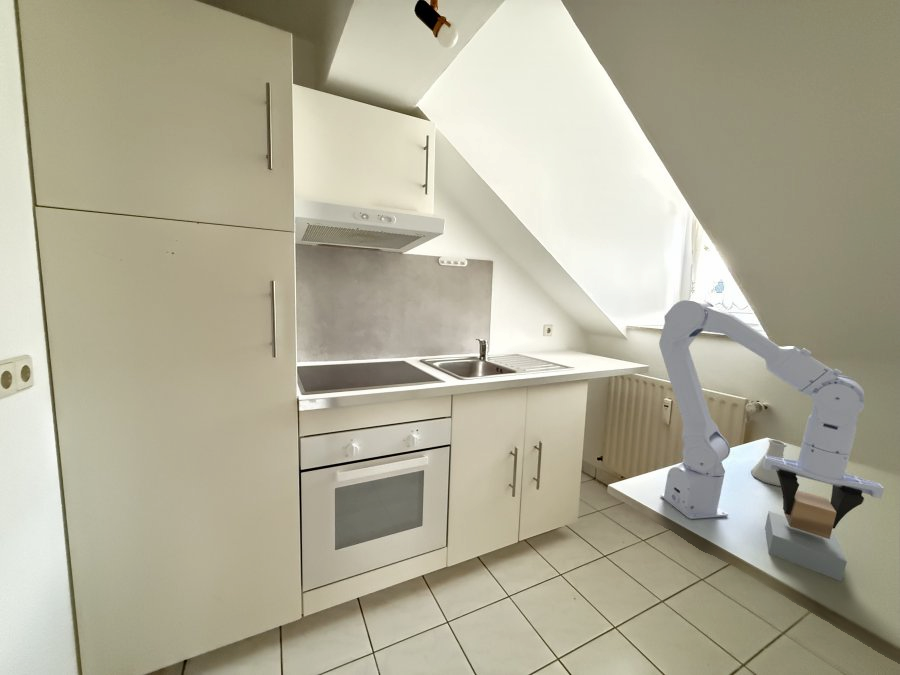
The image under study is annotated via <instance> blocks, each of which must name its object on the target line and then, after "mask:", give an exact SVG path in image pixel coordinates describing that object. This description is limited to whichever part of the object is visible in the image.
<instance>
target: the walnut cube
mask: <svg viewBox="0 0 900 675" xmlns="http://www.w3.org/2000/svg"><path fill="white" fill-rule="evenodd" d="M830 502H831V501H829V499H828V498H826V497H824V496H820V495H816V494H812V493H809V492H806V491H805V492H804V491H801V490H798V489H797V491H796V494H795V497H794V501H793V507H792V511H791V514H790V515H788V514H785V512H784V511H783V515H784V516H785V517H786V519H787V521H788V523H789V526H790V527H793V528H796V529H799V530H802V531H805V532H808V533H811V534H814V535H818V536H821V537H824V538H827V539H830V536H831V532H833V525H834V521H835V517H836V513H837V512H836V511H835V509H834V508H833V506H832V505H831V503H830Z"/></svg>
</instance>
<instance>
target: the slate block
mask: <svg viewBox="0 0 900 675" xmlns="http://www.w3.org/2000/svg"><path fill="white" fill-rule="evenodd" d="M764 530H765V531H766V532H765V538H766V545H767V546H766V547H767V554H770V555H772V556H774V557H777V558H780V559H783V560H785V561H787V562H790V563H793V564H795V565H798V566H800V567H802V568H806V569H809V570H811V571H813V572H816V573H818V574H822V575H824V576H826V577H829V578H831V579H834V580H837V581H839V582H842V581H843V577H844V574H845V570H846V567H847V563H848V561H847V558H846V556H845V554H844V552H843V549H842V547H841V544H840V542H839V540H838V537H837V535H836V533H835V532H833V531H832V532H831V536H830V539H827V538H824V537H821V536H818V535H814V534H811V533H808V532H805V531H802V530H799V529H796V528H793V527H790V526H789V523H788V521H787V519H786V516H785V515H781V514H779V513H776V512H774V511H770V510H768V513H767V517H766V521H765V526H764Z"/></svg>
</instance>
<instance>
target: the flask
mask: <svg viewBox="0 0 900 675" xmlns="http://www.w3.org/2000/svg"><path fill="white" fill-rule="evenodd" d="M768 442H769V445H768V448H767V450H766V452H765V453H764V455H767V456H772V457H777V458H784V451H785V448H787V444H786V443H785V442H783V441H782V440H778V439H768ZM764 455H763V456H762V457H761V459H760V460H759V461H758V462H757V463H756V464H755V466H754V467H752V469H751V470H750V472H751V474H752V476H753V477H755V478H756V479H758V480H759V481H761V482H763V483H766V484H770V485H773V486H778V487H781V484H780V481H779V478H778V475H777V472H776V470H773V469H772V470H768V469H765V468H764V467H763V465H762V463H763V459H764Z"/></svg>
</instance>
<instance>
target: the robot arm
mask: <svg viewBox="0 0 900 675" xmlns="http://www.w3.org/2000/svg"><path fill="white" fill-rule="evenodd" d="M663 319H664V324H663V328H662V331H661V335H660V339H659V342H658V345H659V349H660V352H661V355H662V358H663V362H664V365H665V369H666V373H667V375H668V378H669V382H670V385H671V389H672V391H673V394H674V398H675V400H676V405H677V407H678V411H679V413H680V417H681V420H682V423H683V424H682V425H683V426H682V433H681V440H682V442H683V447H682V458H683V459H682V462H681V463H680V464H679V465H676V466H674V467H672V468H670V469H669V470H668V473H667V477H666V482H665V486H664V487H665V488H664V493H661V494H660V497H661V498H662V499H664V500H665V501H666V502H667V503H669V504H670V505H671V506H673V507H674V508H675V509H677V511H679V512H680V513H682V515H683V516H685V517H686V518H688V519H689V520H693V519H694V520H695V519H706V518H708V519H709V518H720V517H721V518H722V517H728V516H729V513H728V512H726V511H725V510H724V509H722V508H720V507H719V503H720V499H721V494H722V488H723V484H724V478H725V474H726V470H725V468H724V466H723V463H722V462H723V461H724V460H726V459H727V458H729V455H730V453H731V445H730V443H729V442H728V440H727V439H726V437H724V436H723V434H722V433H721V432H720V428H719V426H718V425H717V424H716V422H715V421H714V420H713V419H712V417H711V413H710V411H709V410H710V409H709V406H708V403H707V401H706V398H705V395H704V392H703V389H702V385H701V382H700V378H699V376H698V373H697V370H696V367H695V363H694V361H693V357H692V354H691V350H690V349H689V348H690V345H691V344H692V343H693V342H694V341H695V339H696V338H697V337H698V336H699V335H700V334H701V333H703V332H706V333H714V334H723V335H724V336H727V337H728V338H729V339H731V340H733V341H734V342H736V343H737V344H739V345H741V347H744V348H745V349H748V351H750V352H752V353H754V354H756V355H757V356H759V357H760V358H762V359H764V361H765V366H766V370H767V371H768V372H770V373H771V374H773V375H774V376H776V377H777V378H779V379H780V380H782V381H783V382H784V383H787V385H789V386H790V387H792V388H794V390H796V391H798V392H799V393H801V394H803V395H806V396H810V398H811V402H812V403H813V405H812V409H811V413H810V415H808V418H807V421H806V425H805V428H804V433H803V439H802V441H801V446H800V450H799V454H798V458H797V460H796V459H791V458H790V459H789V458H784V457H783V458H777V457H772V456H767V455H765V454H764V455H763V456H764V459H763V463H762V465H763V467H764V468H765V469H768V470H772V469H773V470H776V472H777V475H778V478H779V481H780V484H781V486H780V488H781V493H782V501H783V503H782V505H783V506H782V509H783V513H784V512H785V514H788V515H790V514H791V511H792V507H793V501H794V497H795V494H796V491H797V490H798V489H799V486H800V483H799V482H798V477H801V478H805V479H808V480H813V481H817V482H820V483H825V484H827V485H830V486H831V485H832V490H831V496H830V497H831V498H830V501H829V502H830V503H831V505H832V506H833V508H834V509H835V511H836V512H837V513H836V517H835V521H834V525H833V528H832V530H833V529H834V530H836V527H837V525H838V524H839V522H840V521H842V519H844V517H845V516H847V514H848V513H850V512H851V510H853V509H855V508H856V507H858V506H860V505H862V504H863V503H864V500H865V497H864V496H863V494H866V495H870V496H871V497H872V498H877V499H880V500H882V498H883V494H884V492H885V488H884V486H883V485H881V483H879V482H876V481H873V480H869V479H866V478H862V477H859V476H855V475H852V474H850V473H846V471H847V466H848V464H849V459H850V457H851V453H852V449H853V445H854V441H855V437H856V433H857V428H858V427H857V425H856V424H857V422H858V421H859V418H860V416H859V413H861V412H862V410H864V408H865V407H866V403H865V390H864V389H863V388H862V386H861V385H860V384H859V383H858V382H856V381H855V380H854V379H853V378H852V377H850V376H846V375H842V374H843V371H841V370H839V369H838V368H835V369H832V368H830V367H829V366H827V365H826V364H824V363H823V362H820V361H819V360H817V359H816V358H814V357H813V356H811V355H812V351H810V350H809V349H806V348H805V347H804V348H802V349H800V348H798V347H796V346H792V345H791V346H780V345H778V344H777V343H775V342H774V341H773V340H771V339H769V338H768V337H766V336H765V335H764V334H762V333H760V332H759V331H758V330H756V329H755V328H753V327H752V326H750V325H748V324H747V323H745V322H744V321H743V320H741V319H740V318H738V317H737V316H735V315H734V314H732V313H730V312H728V311H726V310H725V309H723V308H722V307H721V308H720V307H718V306H714V305H713V304H712V303H710V302H709V301H706V300H702V299H701V300H692V299H683V300H680V301H677V302H676V303H675V304H673V306H672V307H671V308H670V309H669V310H668V311H667V313H666V314H664V318H663ZM797 476H798V477H797ZM785 514H784V515H785Z"/></svg>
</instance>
